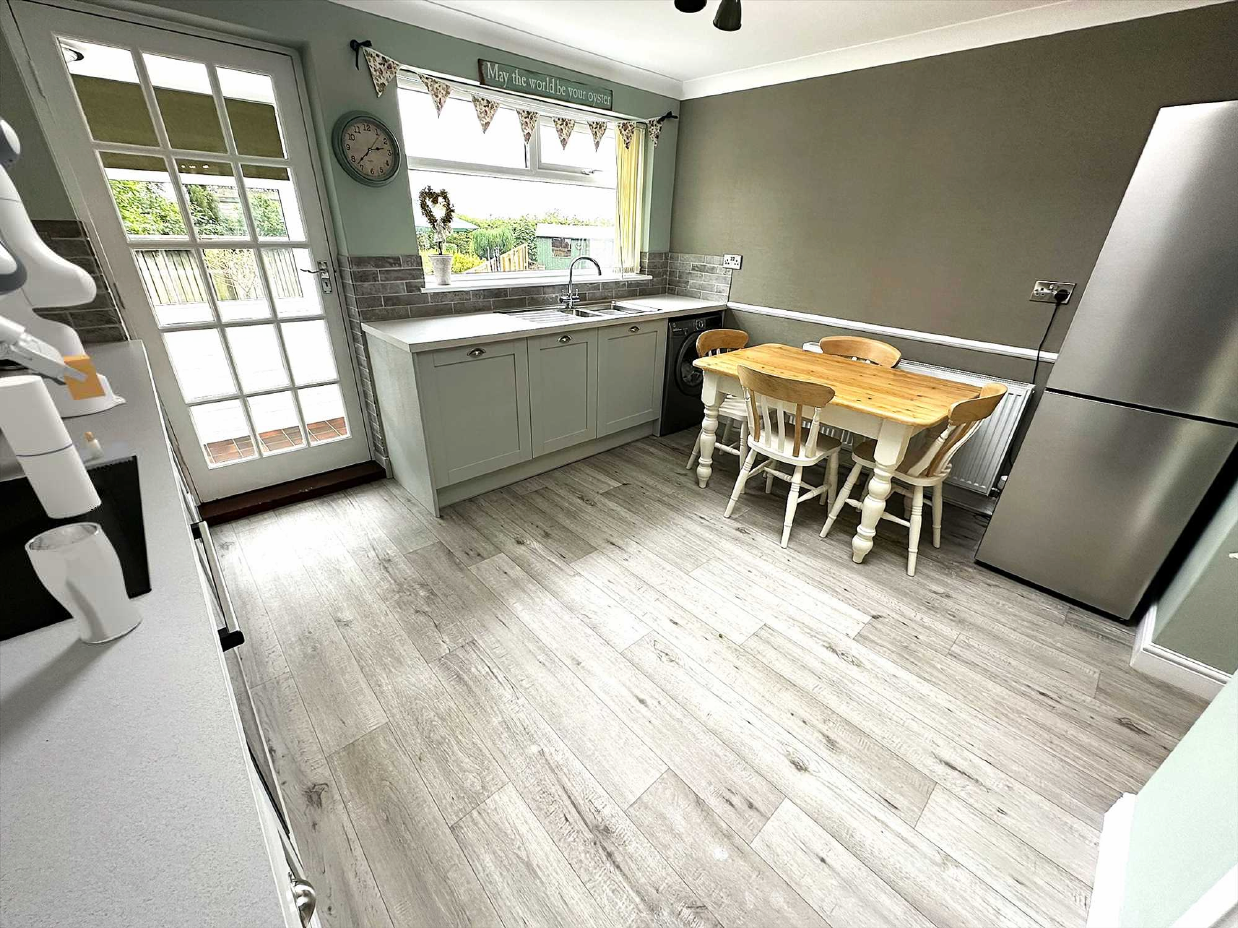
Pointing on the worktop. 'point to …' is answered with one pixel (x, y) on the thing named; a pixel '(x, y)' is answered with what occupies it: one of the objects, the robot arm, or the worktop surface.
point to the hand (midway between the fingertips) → (84, 375)
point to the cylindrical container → (44, 447)
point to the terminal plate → (105, 455)
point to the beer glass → (84, 579)
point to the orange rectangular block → (83, 388)
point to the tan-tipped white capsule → (93, 446)
